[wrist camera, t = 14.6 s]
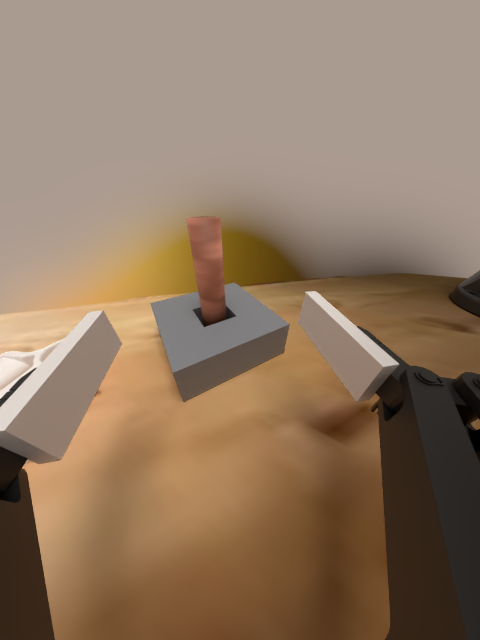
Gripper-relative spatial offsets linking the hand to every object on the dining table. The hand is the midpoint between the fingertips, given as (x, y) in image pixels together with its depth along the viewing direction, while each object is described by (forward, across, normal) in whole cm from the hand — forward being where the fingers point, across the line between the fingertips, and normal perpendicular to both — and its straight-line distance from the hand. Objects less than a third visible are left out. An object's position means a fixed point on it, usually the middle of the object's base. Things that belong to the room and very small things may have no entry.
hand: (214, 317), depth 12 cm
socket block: (+10, 0, -11) cm, 15 cm away
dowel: (+10, 0, -11) cm, 15 cm away
